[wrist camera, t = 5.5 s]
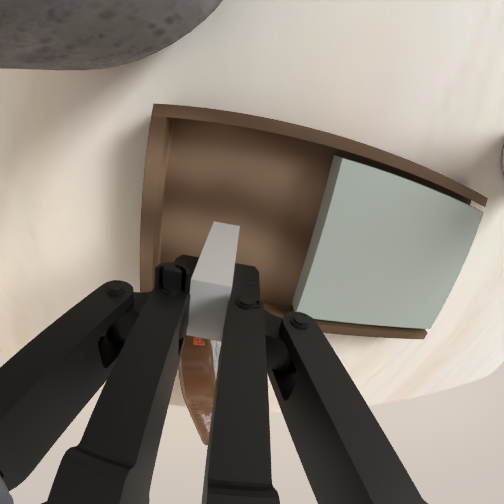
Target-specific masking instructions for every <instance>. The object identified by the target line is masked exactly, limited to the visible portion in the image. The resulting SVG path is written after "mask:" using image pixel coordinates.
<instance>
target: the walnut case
mask: <svg viewBox="0 0 504 504" xmlns="http://www.w3.org/2000/svg"><path fill="white" fill-rule="evenodd" d="M334 155H336V156H339V157H343V158H346V159H350V160H353V161H356V162H360V163H363V164H366V165H369V166H372V167H375V168H378V169H381V170H384V171H387V172H390V173H393V174H396V175H398V176H401V177H404V178H406V179H409V180H412V181H414V182H417V183H420V184H422V185H425V186H427V187H430V188H432V189H434V190H437V191H439V192H442V193H444V194H446V195H448V196H451V197H453V198H455V199H457V200H460V201H462V202H464V203H466V204H468V205H470V203H471V200H472V201H474V202H476V203H478V204H480V205H482V206H484V207H485V205H486V202H487V199H488V198H486V197H484V196H483V195H481V194H479V193H477V192H475V191H473V190H472V189H470V188H468V187H466V186H464V185H462V184H460V183H458V182H456V181H454V180H452V179H450V178H448V177H446V176H443V175H441V174H439V173H437V172H435V171H432V170H430V169H428V168H426V167H423V166H421V165H419V164H416V163H414V162H411V161H409V160H407V159H404V158H402V157H399V156H396V155H394V154H391V153H388V152H386V151H383V150H380V149H377V148H375V147H372V146H369V145H366V144H363V143H360V142H357V141H354V140H350V139H347V138H344V137H341V136H337V135H334V134H330V133H327V132H323V131H320V130H316V129H312V128H308V127H304V126H300V125H296V124H292V123H287V122H283V121H278V120H274V119H269V118H264V117H259V116H253V115H248V114H242V113H236V112H229V111H223V110H215V109H208V108H199V107H190V106H179V105H167V104H153V110H152V116H151V123H150V129H149V136H148V144H147V152H146V161H145V171H144V181H143V194H142V209H141V231H140V292H151V291H152V290H153V288H154V282H155V267H156V266H157V265H159V264H162V263H167V262H173V263H174V261H175V259H176V258H177V257H179V256H181V255H183V254H184V255H189V256H195V257H200V255H201V252H202V250H203V247H204V245H205V242H206V240H207V237H208V235H209V232H210V230H211V227H212V225H213V223H214V222H220V223H225V224H231V225H237V226H240V229H239V236H238V244H237V252H236V259H235V263H238V264H244V265H250V266H255V267H256V269H257V270H258V271H259V281H260V283H259V284H260V300H261V301H262V302H263V305H264V309H265V310H266V311H268V312H269V313H271V314H273V315H275V316H278V317H281V318H283V316H284V315H285V314H286V313H288V312H293V311H294V309H293V304H292V300H293V297H294V294H295V291H296V288H297V284H298V281H299V278H300V275H301V272H302V268H303V265H304V262H305V259H306V255H307V252H308V249H309V245H310V242H311V238H312V235H313V231H314V228H315V224H316V221H317V217H318V214H319V210H320V206H321V203H322V199H323V195H324V192H325V188H326V184H327V180H328V176H329V172H330V168H331V164H332V160H333V156H334ZM314 320H315V321H316V323H317V324H318V326H319V327H320V329H321V331H322V332H323V333H332V334H343V335H355V336H368V337H383V338H403V339H424V338H425V336H426V335H427V331H426V330H425V329H421V328H405V327H391V326H379V325H367V324H357V323H347V322H338V321H329V320H320V319H314Z"/></svg>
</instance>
